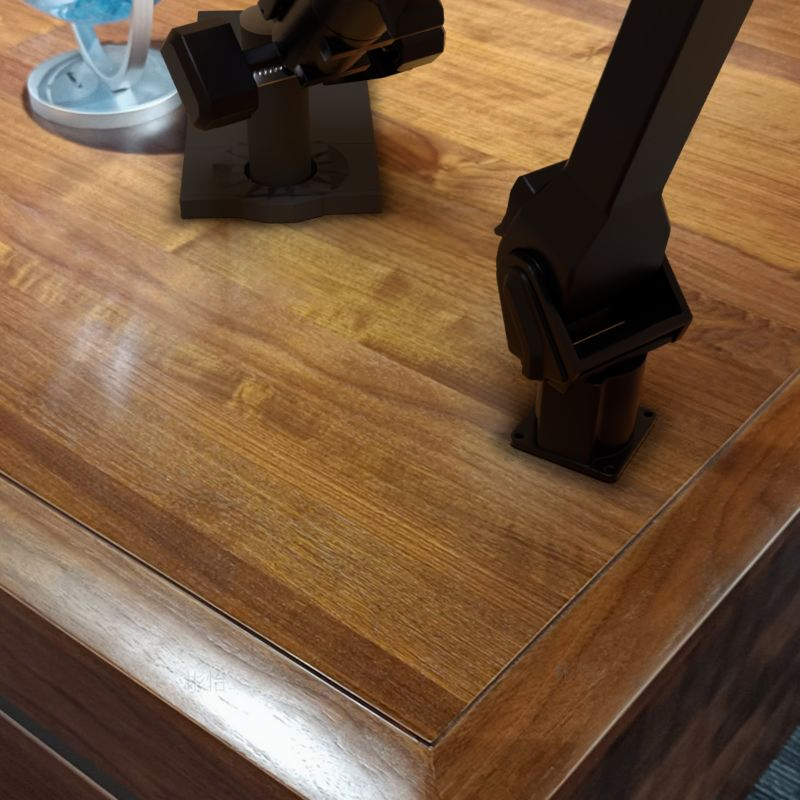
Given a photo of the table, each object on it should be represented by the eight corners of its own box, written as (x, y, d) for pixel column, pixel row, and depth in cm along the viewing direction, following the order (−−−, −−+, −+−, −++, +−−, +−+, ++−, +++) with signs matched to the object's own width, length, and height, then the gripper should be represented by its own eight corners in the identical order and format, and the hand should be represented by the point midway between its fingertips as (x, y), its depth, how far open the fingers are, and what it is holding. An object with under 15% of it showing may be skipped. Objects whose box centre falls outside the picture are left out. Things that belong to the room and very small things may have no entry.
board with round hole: (382, 220, 95) (382, 201, 94) (180, 226, 94) (178, 207, 93) (358, 23, 120) (358, 7, 119) (199, 26, 119) (197, 10, 118)
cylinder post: (269, 208, 96) (259, 34, 87) (240, 181, 98) (227, 11, 90) (323, 191, 97) (318, 20, 89) (293, 166, 100) (285, -3, 92)
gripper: (425, -155, 85) (333, -39, 99) (158, -99, 76) (98, 19, 90) (496, 8, 85) (393, 101, 99) (236, 82, 77) (164, 172, 90)
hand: (267, 94), depth 95 cm, fingers open, 9 cm apart
